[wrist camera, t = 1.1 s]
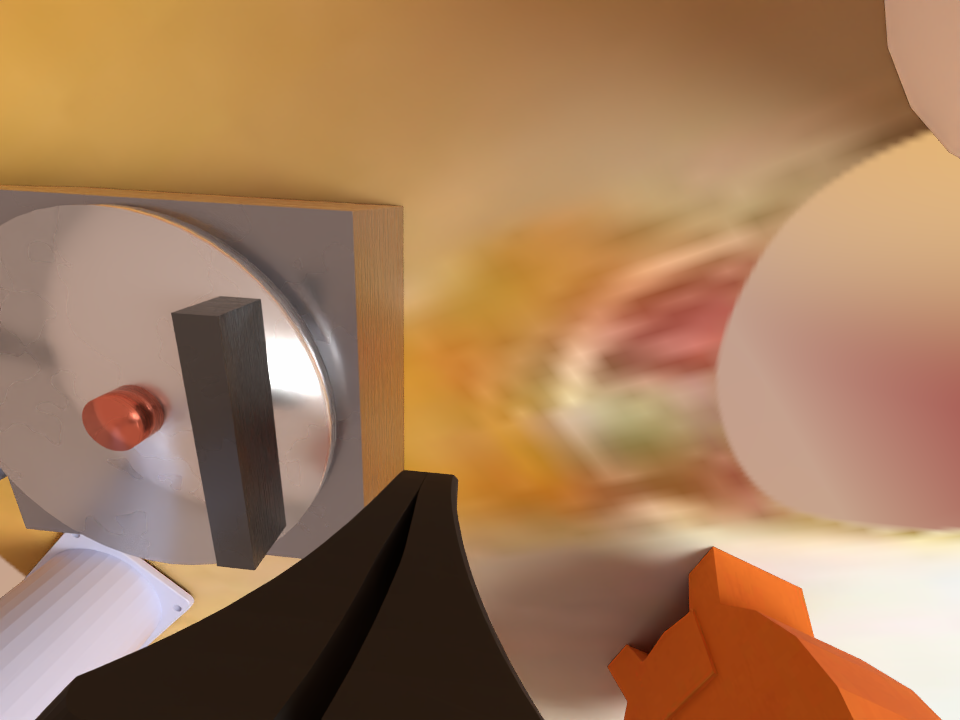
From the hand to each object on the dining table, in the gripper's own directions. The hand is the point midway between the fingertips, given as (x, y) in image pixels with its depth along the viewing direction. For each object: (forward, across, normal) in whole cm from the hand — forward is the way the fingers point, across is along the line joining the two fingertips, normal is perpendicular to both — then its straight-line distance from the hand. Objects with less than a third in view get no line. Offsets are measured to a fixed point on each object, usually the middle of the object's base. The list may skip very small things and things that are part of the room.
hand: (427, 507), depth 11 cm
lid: (+4, +10, 0) cm, 11 cm away
